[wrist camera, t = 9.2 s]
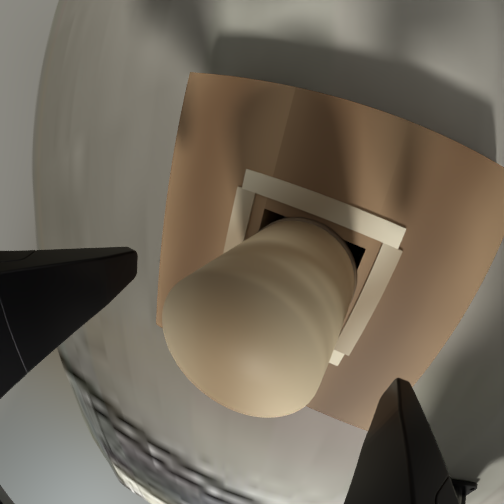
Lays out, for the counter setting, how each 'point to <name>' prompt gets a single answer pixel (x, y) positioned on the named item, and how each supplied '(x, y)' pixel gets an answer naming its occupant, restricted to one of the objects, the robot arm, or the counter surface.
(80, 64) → the counter surface
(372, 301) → the seat block
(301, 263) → the peg
